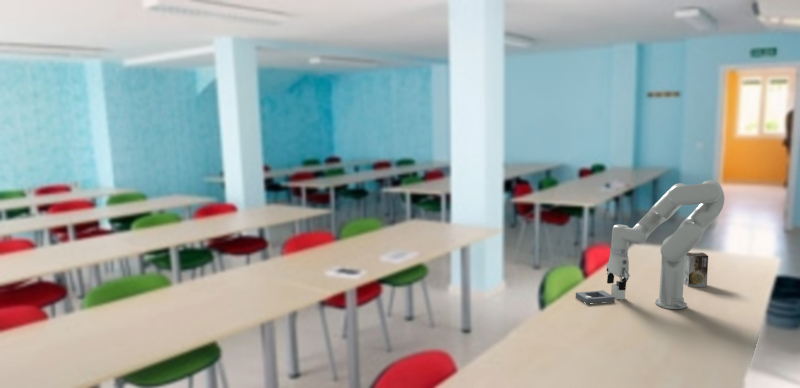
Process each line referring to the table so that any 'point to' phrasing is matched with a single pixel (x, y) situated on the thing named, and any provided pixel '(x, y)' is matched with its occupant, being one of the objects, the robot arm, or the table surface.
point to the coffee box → (696, 270)
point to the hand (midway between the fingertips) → (616, 286)
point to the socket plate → (595, 297)
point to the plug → (617, 291)
